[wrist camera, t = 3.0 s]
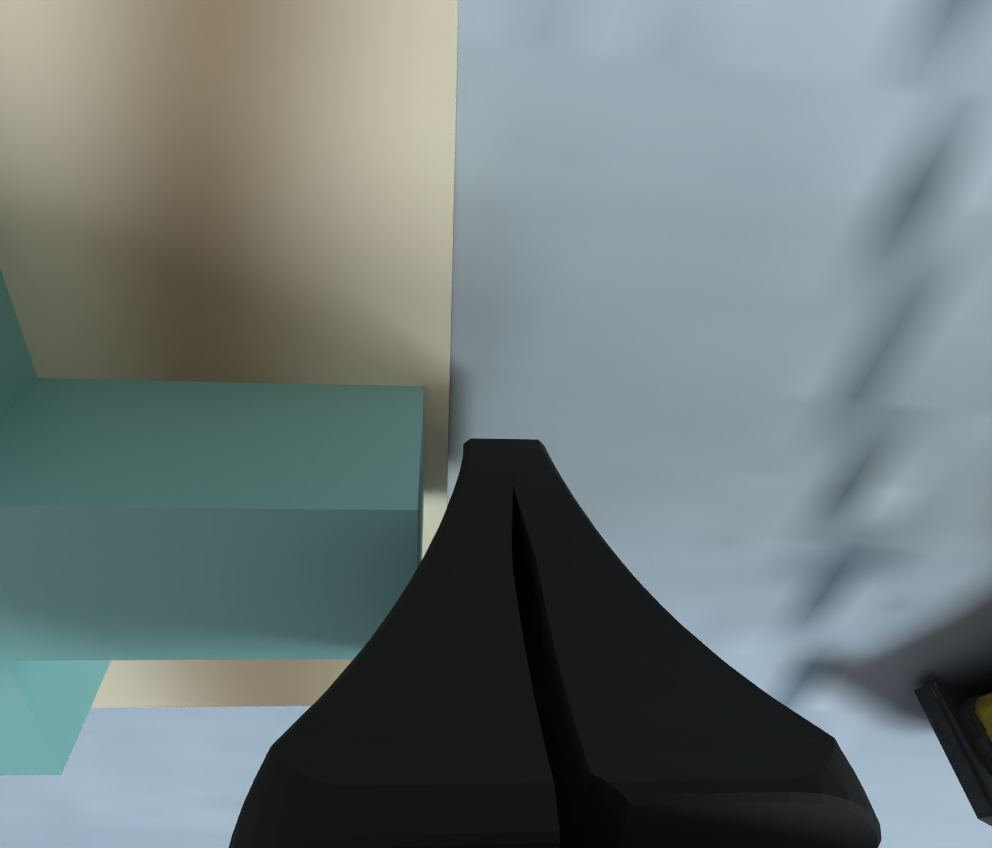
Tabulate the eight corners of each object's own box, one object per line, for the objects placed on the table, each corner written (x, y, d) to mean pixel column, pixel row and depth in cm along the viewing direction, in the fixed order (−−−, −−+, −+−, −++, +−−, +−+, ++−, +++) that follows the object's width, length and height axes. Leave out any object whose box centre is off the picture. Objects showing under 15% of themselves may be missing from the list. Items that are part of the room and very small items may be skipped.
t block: (-33, 632, 15) (-128, 777, 13) (-269, 176, 10) (-508, 268, 7) (423, 632, 16) (418, 769, 13) (424, 203, 11) (416, 298, 8)
